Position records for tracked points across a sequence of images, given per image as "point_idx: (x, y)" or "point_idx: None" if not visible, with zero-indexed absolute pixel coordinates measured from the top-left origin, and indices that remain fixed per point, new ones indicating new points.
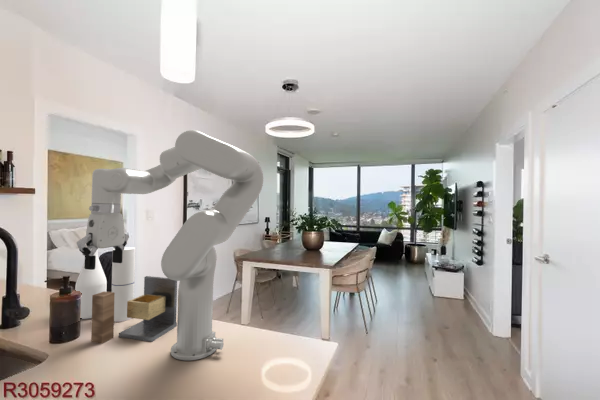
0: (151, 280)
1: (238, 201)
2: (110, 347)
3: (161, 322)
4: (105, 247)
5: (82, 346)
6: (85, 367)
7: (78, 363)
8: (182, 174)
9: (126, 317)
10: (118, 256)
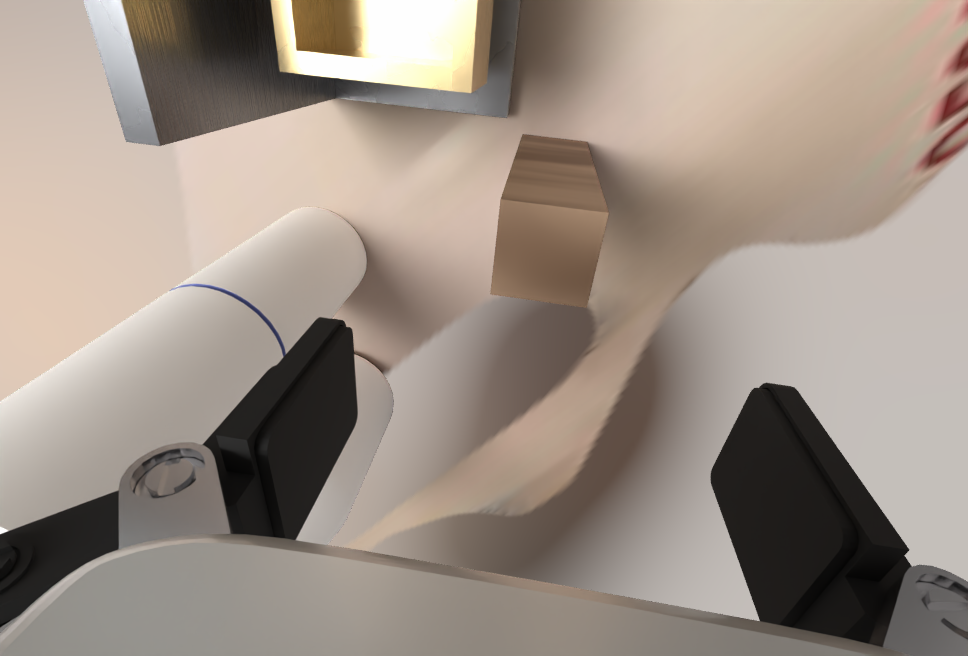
0: (157, 45)
1: None
2: (621, 69)
3: None
4: (809, 635)
5: (616, 211)
6: (828, 33)
7: (780, 102)
8: None
9: (332, 219)
10: (317, 403)
